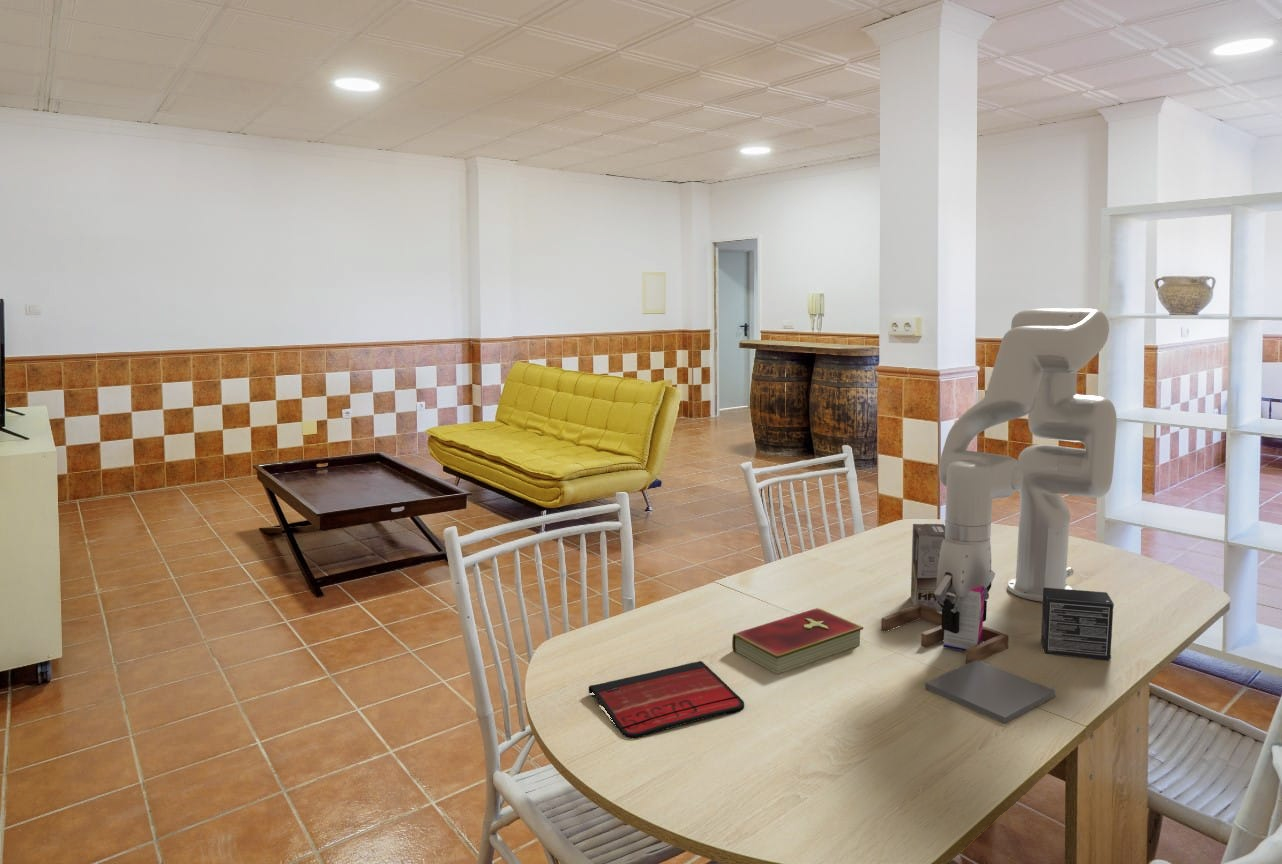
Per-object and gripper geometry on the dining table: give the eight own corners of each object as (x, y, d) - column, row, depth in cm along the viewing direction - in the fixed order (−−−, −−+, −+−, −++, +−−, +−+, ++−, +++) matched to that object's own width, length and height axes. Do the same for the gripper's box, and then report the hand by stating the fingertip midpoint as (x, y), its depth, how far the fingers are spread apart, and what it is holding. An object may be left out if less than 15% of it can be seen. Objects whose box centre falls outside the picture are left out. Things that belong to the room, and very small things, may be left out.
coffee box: (948, 614, 165) (952, 536, 162) (915, 612, 166) (917, 535, 164) (941, 597, 174) (944, 523, 171) (909, 595, 175) (912, 522, 172)
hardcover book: (732, 653, 151) (732, 631, 150) (815, 626, 162) (816, 605, 161) (776, 678, 141) (777, 654, 140) (862, 647, 152) (863, 625, 151)
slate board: (975, 665, 143) (976, 659, 143) (1055, 696, 131) (1055, 690, 131) (925, 688, 135) (925, 682, 135) (1004, 723, 123) (1005, 717, 123)
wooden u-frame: (919, 615, 164) (919, 603, 164) (1008, 648, 149) (1008, 635, 149) (881, 630, 158) (881, 617, 158) (969, 665, 143) (970, 651, 142)
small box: (1104, 646, 149) (1108, 590, 147) (1111, 661, 143) (1115, 604, 141) (1039, 639, 152) (1042, 585, 151) (1043, 654, 146) (1047, 597, 145)
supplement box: (977, 654, 146) (979, 592, 144) (942, 647, 149) (944, 587, 147) (983, 641, 151) (985, 582, 148) (949, 635, 154) (951, 576, 152)
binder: (588, 684, 135) (701, 658, 144) (588, 697, 136) (700, 671, 144) (627, 734, 121) (750, 702, 129) (627, 748, 121) (749, 716, 130)
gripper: (977, 516, 154) (973, 606, 157) (918, 535, 144) (915, 631, 147) (1015, 525, 148) (1010, 619, 151) (956, 545, 138) (952, 645, 141)
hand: (963, 624), depth 149 cm, fingers closed on supplement box, 7 cm apart
